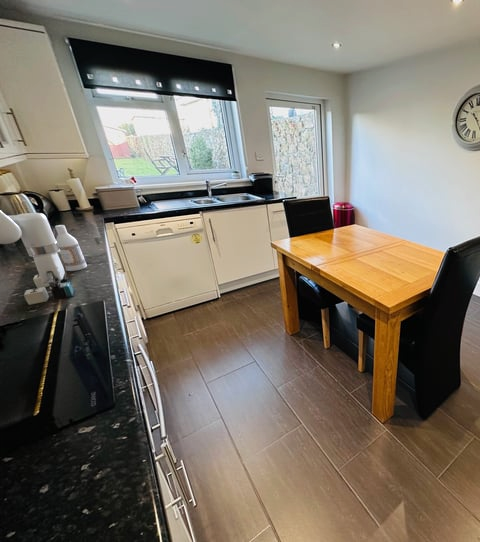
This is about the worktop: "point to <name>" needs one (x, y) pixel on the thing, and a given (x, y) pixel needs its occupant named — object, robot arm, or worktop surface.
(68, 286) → the tile
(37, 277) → the tile
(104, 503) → the worktop surface
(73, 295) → the slot pad
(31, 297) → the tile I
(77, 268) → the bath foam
